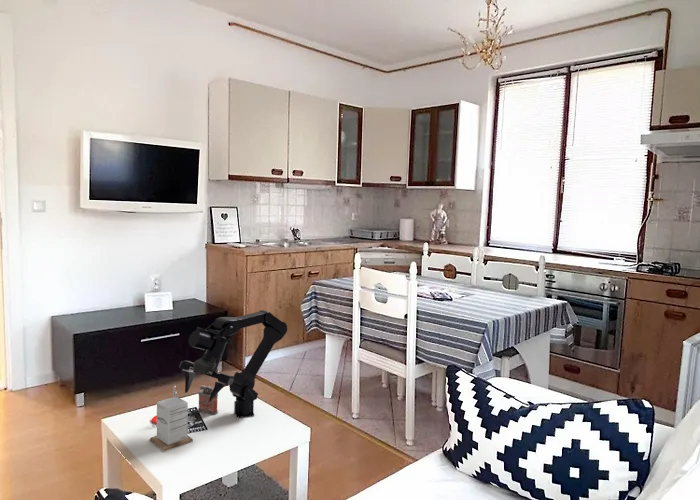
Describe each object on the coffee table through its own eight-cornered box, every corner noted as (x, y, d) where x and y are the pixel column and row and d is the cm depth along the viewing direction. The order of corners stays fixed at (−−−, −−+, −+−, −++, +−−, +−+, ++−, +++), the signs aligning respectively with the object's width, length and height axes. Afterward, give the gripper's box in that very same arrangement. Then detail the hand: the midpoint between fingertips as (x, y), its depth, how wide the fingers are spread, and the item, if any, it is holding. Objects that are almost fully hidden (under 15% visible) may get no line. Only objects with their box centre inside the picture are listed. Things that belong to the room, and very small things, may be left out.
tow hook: (147, 425, 176) (173, 425, 176) (146, 390, 175) (171, 390, 175) (158, 415, 185) (182, 415, 184) (156, 381, 183) (181, 382, 183)
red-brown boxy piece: (219, 412, 188) (220, 386, 187) (214, 415, 185) (214, 389, 184) (201, 408, 191) (201, 383, 190) (196, 411, 188) (196, 386, 187)
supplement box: (155, 438, 165) (155, 401, 163) (176, 431, 170) (176, 395, 169) (167, 446, 160) (167, 408, 159) (188, 438, 165) (188, 401, 164)
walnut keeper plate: (178, 430, 172) (178, 428, 172) (192, 441, 165) (192, 438, 165) (149, 440, 165) (149, 437, 165) (164, 451, 158) (164, 449, 158)
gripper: (180, 343, 169) (163, 388, 165) (230, 359, 165) (213, 406, 162) (194, 345, 179) (177, 388, 176) (241, 361, 176) (225, 405, 173)
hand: (197, 396), depth 171 cm, fingers open, 9 cm apart
